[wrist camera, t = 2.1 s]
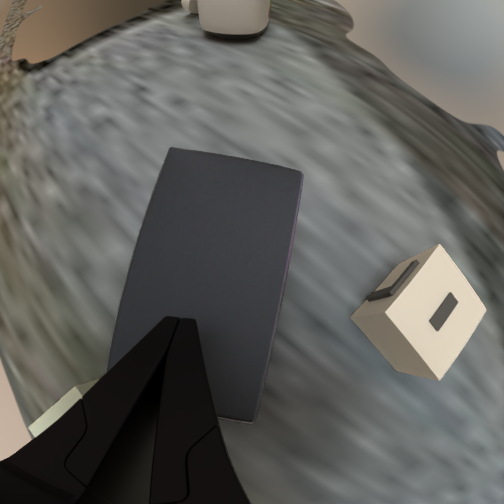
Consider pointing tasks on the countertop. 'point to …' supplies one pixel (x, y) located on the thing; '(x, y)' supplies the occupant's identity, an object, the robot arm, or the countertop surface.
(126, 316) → the small box
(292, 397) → the countertop surface
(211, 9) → the spread jar
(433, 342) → the cream block seven
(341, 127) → the countertop surface
